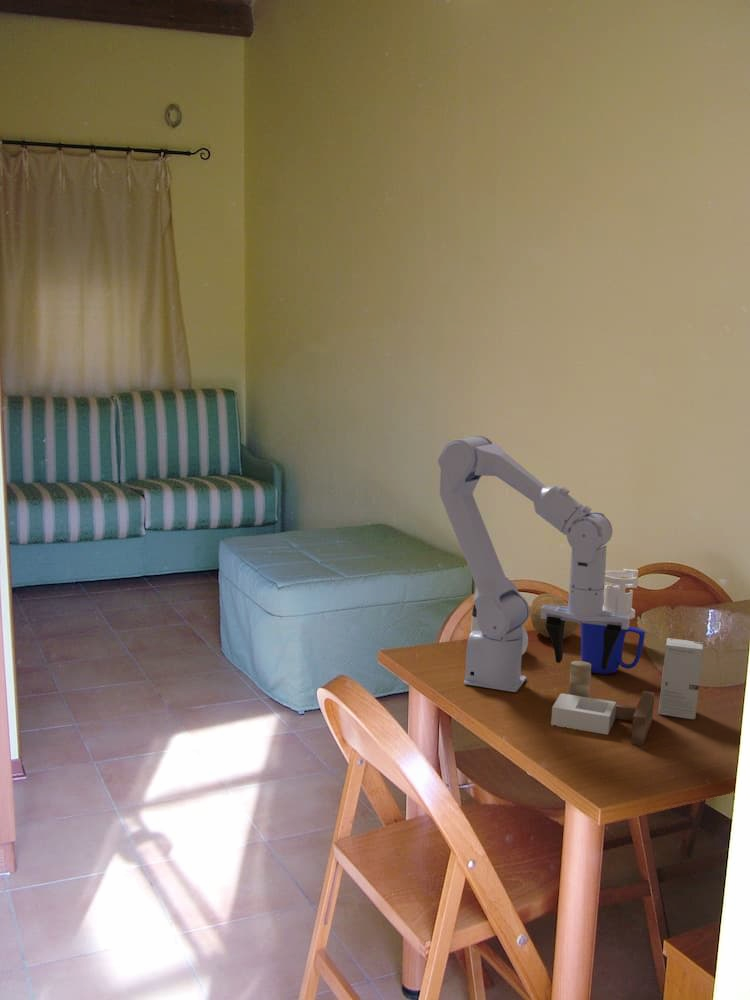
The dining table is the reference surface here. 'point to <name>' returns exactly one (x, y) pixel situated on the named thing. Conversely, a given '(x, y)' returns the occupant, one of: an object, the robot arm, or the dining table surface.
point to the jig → (638, 716)
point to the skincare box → (681, 678)
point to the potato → (540, 623)
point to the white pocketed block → (583, 713)
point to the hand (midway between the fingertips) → (581, 664)
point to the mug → (595, 645)
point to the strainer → (620, 592)
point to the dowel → (580, 678)
